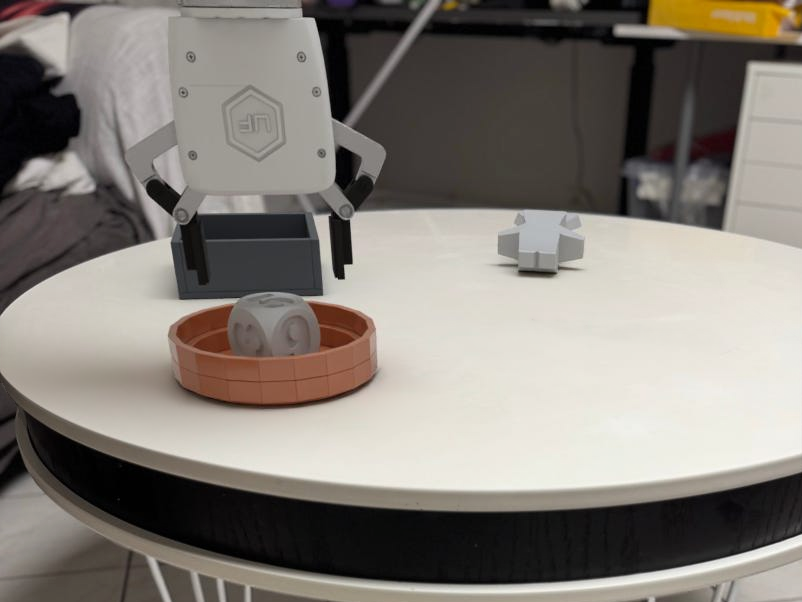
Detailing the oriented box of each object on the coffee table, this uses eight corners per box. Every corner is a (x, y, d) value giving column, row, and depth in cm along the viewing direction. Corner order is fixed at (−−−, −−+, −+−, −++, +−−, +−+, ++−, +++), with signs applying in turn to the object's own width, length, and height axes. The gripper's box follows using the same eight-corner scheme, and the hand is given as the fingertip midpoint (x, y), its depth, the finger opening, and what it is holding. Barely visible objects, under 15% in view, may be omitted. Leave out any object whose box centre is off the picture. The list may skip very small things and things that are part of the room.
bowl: (169, 413, 63) (160, 363, 61) (182, 346, 75) (175, 302, 73) (387, 403, 66) (385, 354, 63) (366, 339, 78) (364, 296, 76)
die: (281, 352, 73) (274, 288, 70) (324, 367, 70) (318, 300, 67) (231, 367, 70) (221, 300, 67) (273, 383, 67) (266, 314, 64)
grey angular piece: (492, 234, 95) (509, 192, 106) (491, 283, 98) (508, 237, 109) (583, 239, 94) (590, 196, 105) (579, 289, 97) (586, 242, 108)
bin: (179, 299, 86) (170, 242, 83) (187, 265, 97) (179, 213, 94) (323, 295, 89) (319, 239, 86) (315, 262, 100) (312, 212, 97)
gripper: (83, -13, 52) (144, 296, 62) (384, -9, 55) (397, 286, 65) (101, -12, 58) (154, 270, 68) (372, -8, 61) (384, 262, 71)
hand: (272, 277), depth 66 cm, fingers open, 9 cm apart
